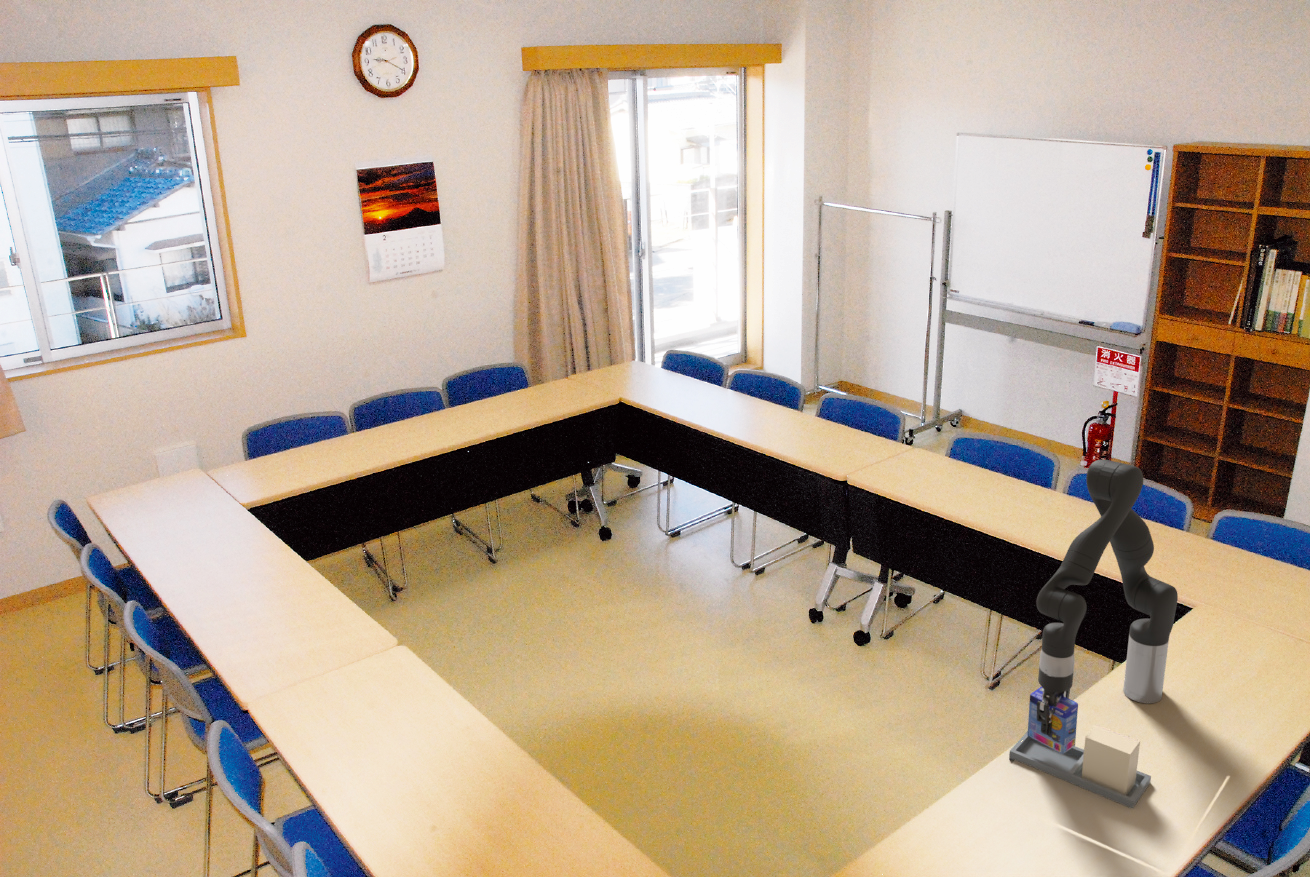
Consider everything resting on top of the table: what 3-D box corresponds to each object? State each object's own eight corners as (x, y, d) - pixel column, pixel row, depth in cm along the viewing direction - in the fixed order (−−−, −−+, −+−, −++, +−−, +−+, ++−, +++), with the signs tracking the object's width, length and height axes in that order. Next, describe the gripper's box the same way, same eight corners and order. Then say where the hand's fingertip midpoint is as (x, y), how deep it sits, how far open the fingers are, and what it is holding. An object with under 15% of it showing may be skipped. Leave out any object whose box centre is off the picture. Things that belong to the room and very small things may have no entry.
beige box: (1091, 766, 248) (1095, 724, 243) (1135, 783, 241) (1140, 740, 237) (1081, 779, 244) (1085, 737, 239) (1125, 797, 237) (1130, 754, 233)
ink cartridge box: (1025, 736, 252) (1029, 685, 247) (1038, 726, 255) (1042, 676, 250) (1062, 755, 245) (1067, 703, 240) (1075, 745, 248) (1080, 693, 243)
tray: (1029, 736, 260) (1029, 728, 259) (1150, 784, 241) (1151, 775, 240) (1009, 759, 253) (1009, 750, 252) (1132, 810, 234) (1133, 801, 233)
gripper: (1053, 647, 250) (1049, 707, 256) (1027, 675, 240) (1022, 735, 246) (1085, 658, 245) (1079, 718, 251) (1059, 686, 235) (1054, 748, 241)
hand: (1051, 726), depth 248 cm, fingers closed on ink cartridge box, 5 cm apart
